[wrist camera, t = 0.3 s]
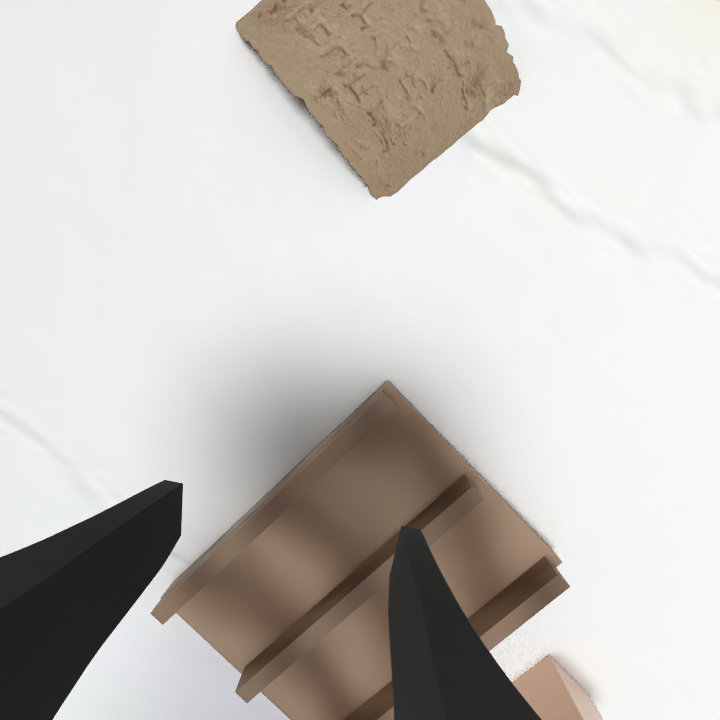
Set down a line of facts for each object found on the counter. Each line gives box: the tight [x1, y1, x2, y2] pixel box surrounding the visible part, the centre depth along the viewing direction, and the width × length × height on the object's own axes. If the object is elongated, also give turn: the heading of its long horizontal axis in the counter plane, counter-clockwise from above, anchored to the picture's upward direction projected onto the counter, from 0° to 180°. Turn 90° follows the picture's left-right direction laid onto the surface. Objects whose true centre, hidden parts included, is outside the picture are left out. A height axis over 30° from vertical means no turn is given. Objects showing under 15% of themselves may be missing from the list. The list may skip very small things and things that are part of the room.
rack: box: [151, 380, 570, 720], centre depth 21 cm, size 20×15×3 cm
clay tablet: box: [236, 0, 521, 199], centre depth 18 cm, size 14×10×3 cm
